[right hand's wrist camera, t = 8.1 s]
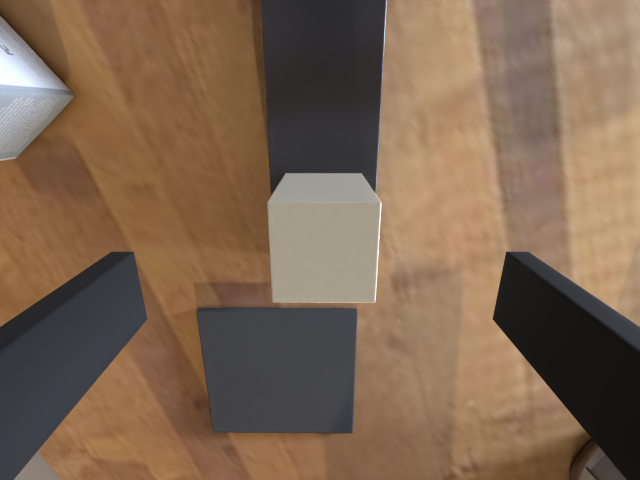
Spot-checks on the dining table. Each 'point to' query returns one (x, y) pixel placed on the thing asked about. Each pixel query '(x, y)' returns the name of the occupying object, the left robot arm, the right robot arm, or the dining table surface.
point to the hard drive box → (25, 94)
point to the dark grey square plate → (279, 369)
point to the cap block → (324, 238)
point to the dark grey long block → (323, 85)
